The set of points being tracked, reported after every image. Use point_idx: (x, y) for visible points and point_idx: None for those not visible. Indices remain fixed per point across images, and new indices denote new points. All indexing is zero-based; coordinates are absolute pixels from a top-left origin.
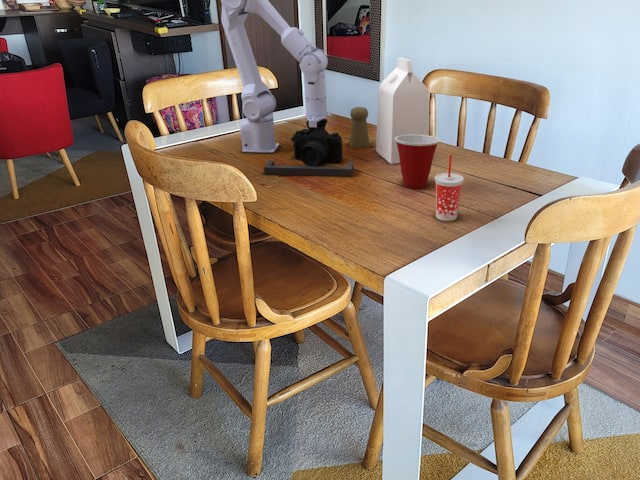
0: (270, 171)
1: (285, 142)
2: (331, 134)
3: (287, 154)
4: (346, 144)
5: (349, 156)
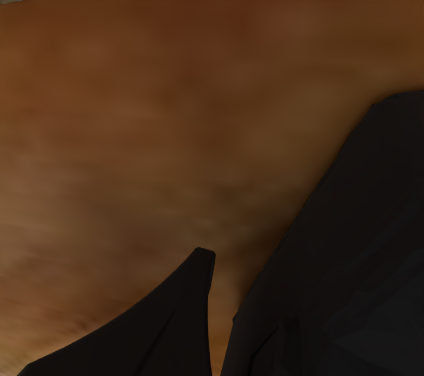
0: None
1: (56, 316)
2: (367, 330)
3: (211, 345)
4: (4, 29)
5: (298, 9)
